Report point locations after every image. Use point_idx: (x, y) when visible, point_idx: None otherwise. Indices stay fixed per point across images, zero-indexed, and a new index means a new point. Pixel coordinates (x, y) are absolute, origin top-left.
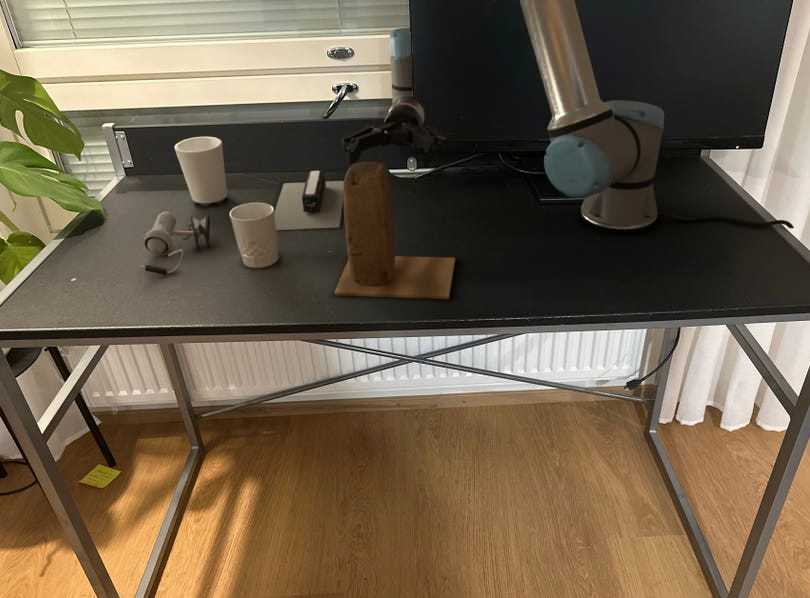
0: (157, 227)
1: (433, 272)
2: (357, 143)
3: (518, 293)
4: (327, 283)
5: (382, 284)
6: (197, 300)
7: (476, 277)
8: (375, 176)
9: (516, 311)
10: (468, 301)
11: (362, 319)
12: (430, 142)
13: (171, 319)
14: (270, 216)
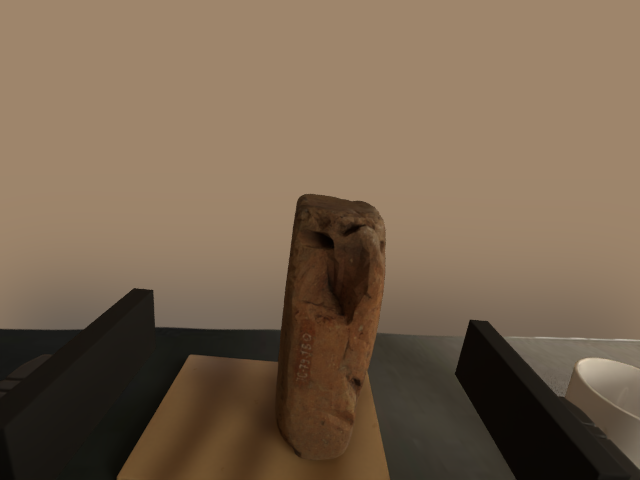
0: None
1: (195, 414)
2: (545, 405)
3: None
4: (393, 403)
5: None
6: (548, 373)
7: (107, 412)
8: (312, 195)
9: None
10: (160, 354)
11: None
12: (20, 385)
13: (534, 345)
14: (577, 381)
